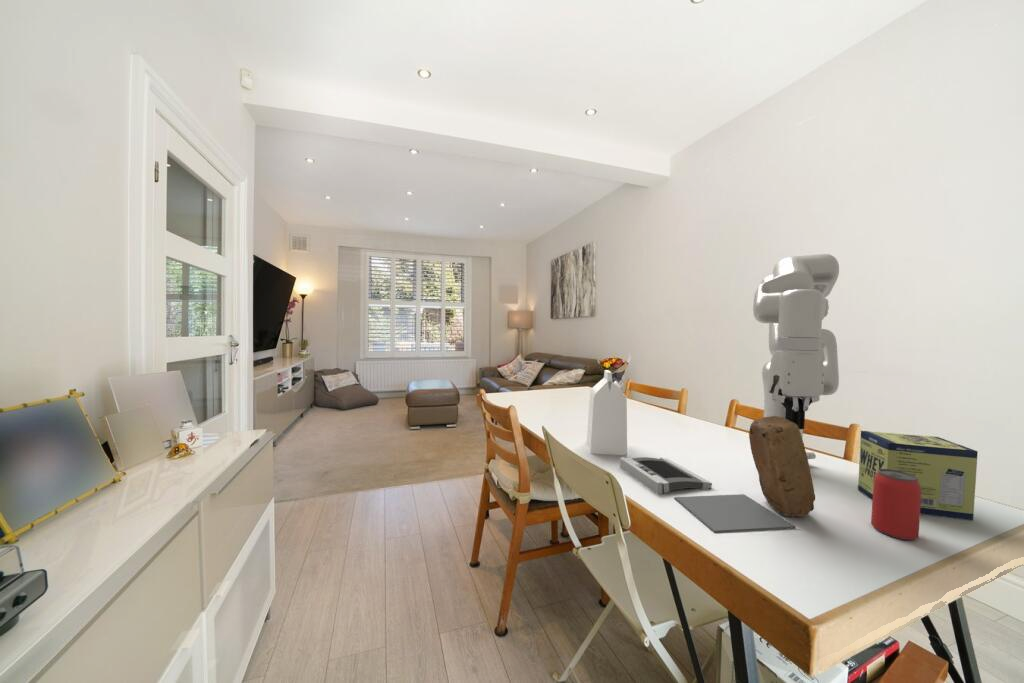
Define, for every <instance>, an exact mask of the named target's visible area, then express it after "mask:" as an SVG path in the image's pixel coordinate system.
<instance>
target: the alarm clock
mask: <svg viewBox="0 0 1024 683" xmlns="http://www.w3.org/2000/svg"><path fill="white" fill-rule="evenodd" d="M619 467H620V469H622V470H623V471H624V472H626V473H627V474H629V475H630V476H632V478H634V479H635V480H637V481H638V482H640V483H642V485H643V486H645V487H647V488H648V489H649V488H650V489H649V490H650V491H652V490H653V491H652V492H653V493H655V494H656V493H657V494H656V495H658V494H659V495H663V493H664V494H666V493H670V491H676V490H677V491H678V490H682V489H701V488H702V490H709V488H711V489H712V486H713V483H712V482H710V481H709V480H707V479H706V478H703V477H702V476H700V475H698V474H696V473H694V472H693V471H691V470H689V469H687V468H685V467H683V466H682V465H679V463H676V462H674V461H673V460H671V459H669V458H666V457H659V458H657V457H647V456H646V457H645V456H644V457H641V456H640V457H632V458H631V457H628V458H626V457H624V456H622V457H619Z"/></svg>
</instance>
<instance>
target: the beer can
mask: <svg viewBox="0 0 1024 683" xmlns="http://www.w3.org/2000/svg"><path fill="white" fill-rule="evenodd" d="M921 492H922V491H921V487H920V484H919V482H918V478H917V477H916V476H914V475H912V474H909V473H906V472H902V471H898V470H892V469H879V470H878V473H877V474H876V475H875V478H874V484H873V500H872V502H871V503H872V505H871V520H870V521H871V522H870V524H871V526H873V528H874V529H876V530H877V531H878V532H880V533H882V534H885V535H887V536H889V537H891V538H892V537H893V538H895V539H899V540H905V541H913V540H917V539H918V538H919V535H920V534H919V533H920V522H921V521H920V518H921V514H920V507H921Z"/></svg>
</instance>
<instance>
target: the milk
mask: <svg viewBox="0 0 1024 683" xmlns="http://www.w3.org/2000/svg"><path fill="white" fill-rule="evenodd" d="M621 388H622V386H621V385H620V384H619V382H618V381H617V380H615V381H614V382H613V374H612V371H610V369H605V370H604V374H603V378H602V379H600V380H599V381H598V382H597V383H596V384H595V385H594V386H593V387H592V388H591V389H590V392H589V400H588V416H587V430H586V443H587V444H586V445H587V447H588V450H589V453H590V454H597V455H598V454H599V455H616V456H617V455H619V456H628V412H627V411H628V408H627V406H628V404H627V403H628V400H627V395H626V394H625V392H623V391H622V390H621Z"/></svg>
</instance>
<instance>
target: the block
mask: <svg viewBox="0 0 1024 683" xmlns="http://www.w3.org/2000/svg"><path fill="white" fill-rule="evenodd" d="M803 439H804V438H803ZM803 439H802V436H801V433H800V430H799V428H798V426H797V424H796V423H794V422H791V421H789V420H788V419H786V418H782V417H778V416H771V417H764V416H763V417H761V418H757V419H755V420H753V421H752V422H751V424H750V427H749V430H748V440H749V445H750V450H751V454H752V458H753V459H752V460H753V462H754V465H755V468H756V471H757V474H758V482H759V484H760V488H761V491H762V494H763V496H764V498H765V500H766V502H767V503H768V504H769V505H770V506H771V507H772V508H773V509H774V510H775V511H777V513H780V514H781V515H784V516H788V517H806V516H807V515H809V514H810V512H813V510H814V509H815V503H814V502H815V501H816V494H815V488H814V483H813V482H814V481H813V477H812V473H811V468H810V463H809V459H808V458H807V454H806V452H807V451H806V448H805V443H804V440H803Z"/></svg>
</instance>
